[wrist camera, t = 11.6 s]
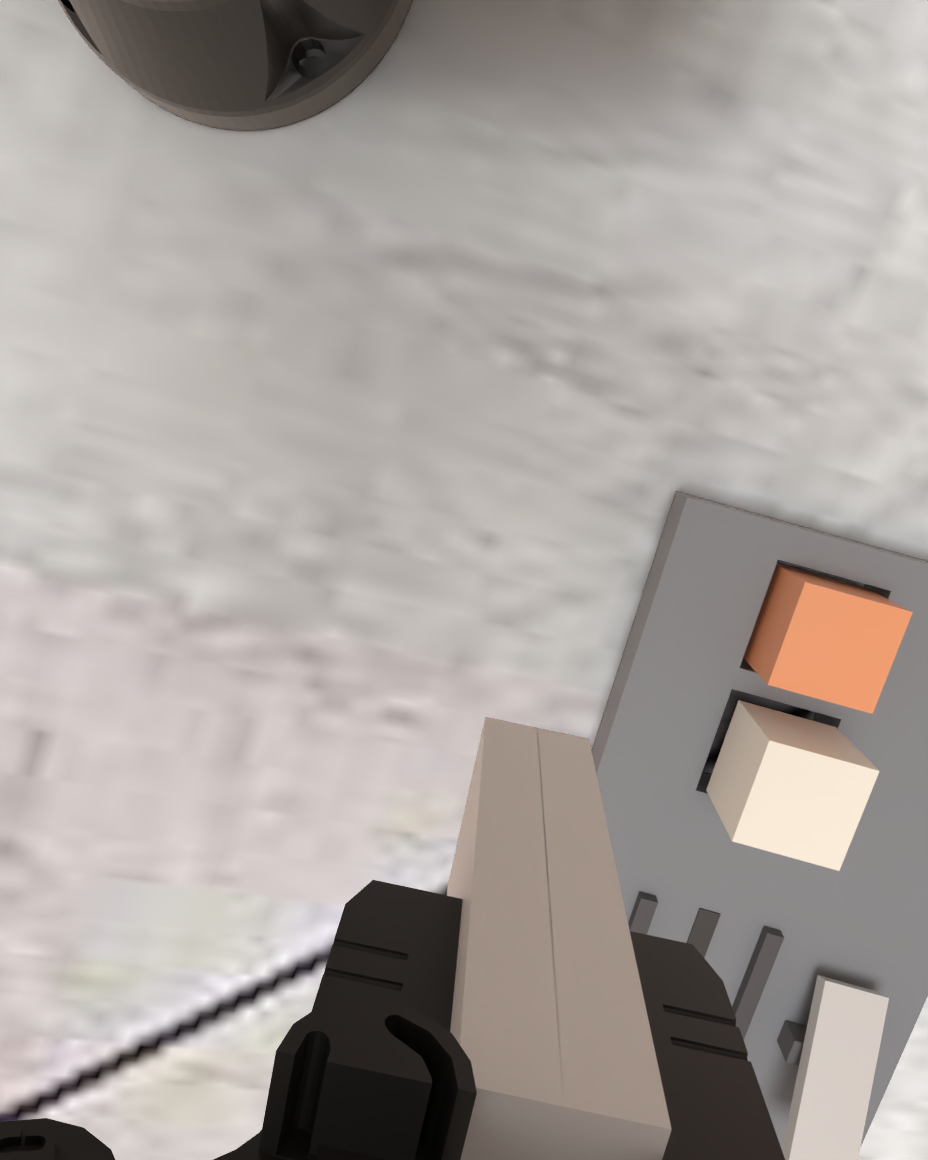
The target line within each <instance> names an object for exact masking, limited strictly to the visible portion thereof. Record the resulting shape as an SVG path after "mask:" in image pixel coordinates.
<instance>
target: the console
mask: <svg viewBox="0 0 928 1160" xmlns="http://www.w3.org/2000/svg"><path fill="white" fill-rule="evenodd" d="M778 560H781V561H785V562H789V563H792V564H796V565H799V566H803V567H806V568H810V569H814V570H817V571H821V572H824V573H828V574H832V575H835V576H839V577H842V578H846V579H850V580H853V581H857V582H860V583H864V584H866V585H865V587H866V588H868V589H870V590H872V591H874V592H875V593H877V594H879V595H881V596H883V597H885V598H887V599H889V600H891V601H893V602H895V603H897V604H898V605H900V606H902V607H904V608H906V609H908V610H910V611H912V612H913V613H912V616H911V618H910V621H909V623H908V626H907V628H906V631H905V633H904V636H903V638H902V641H901V643H900V646H899V648H898V651H897V653H896V656H895V659H894V661H893V664H892V666H891V669H890V671H889V674H888V676H887V679H886V681H885V684H884V686H883V689H882V691H881V694H880V696H879V699H878V701H877V704H876V707H875V709H874V712H873V714H871V713H867V712H864V711H860V710H856V709H853V708H849V707H846V706H842V705H838V704H835V703H831V702H828V701H824V700H820V699H817V698H813V697H810V696H806V695H802V694H799V693H795V692H792V691H788V690H784V689H781V688H777V687H774V686H770V685H767V684H766V682H765V681H764V680H763V679H762V678H761V677H760V676H759V675H758V674H757V673H756V671H755V670H754V669H753V668H752V667H751V666H750V665H749V664H748V663H747V662H746V660H745V659H744V658H743V656H744V654H745V651H746V648H747V645H748V642H749V640H750V637H751V634H752V631H753V628H754V626H755V623H756V620H757V617H758V614H759V612H760V609H761V606H762V603H763V600H764V598H765V595H766V592H767V589H768V586H769V584H770V581H771V578H772V575H773V572H774V570H775V567H776V564H777V561H778ZM732 689H734V690H737V691H741V692H745V693H748V694H752V695H755V696H759V697H763V698H766V699H770V700H773V701H777V702H781V703H784V704H788V705H791V706H795V707H799V708H802V709H806V710H809V711H813V712H817V713H816V716H815V718H814V721H816V722H819V723H823V724H826V725H830V726H834V727H836V728H837V729H838V730H839V731H840V732H841V733H842V734H843V735H844V736H845V737H846V738H847V739H848V740H849V741H850V742H851V743H852V744H853V745H854V746H855V747H856V748H857V749H858V750H859V751H860V752H861V753H862V754H863V755H864V756H865V757H866V758H867V759H868V760H869V761H870V762H871V763H872V764H873V765H874V766H875V767H876V768H877V769H878V770H879V774H878V776H877V779H876V781H875V784H874V786H873V789H872V791H871V794H870V796H869V799H868V801H867V804H866V806H865V809H864V811H863V814H862V816H861V819H860V821H859V823H858V826H857V828H856V831H855V833H854V836H853V838H852V841H851V843H850V846H849V848H848V851H847V853H846V856H845V858H844V861H843V863H842V866H841V868H840V871H837V870H834V869H830V868H827V867H823V866H819V865H816V864H812V863H808V862H805V861H801V860H798V859H794V858H790V857H787V856H783V855H780V854H776V853H772V852H769V851H765V850H762V849H758V848H754V847H751V846H747V845H743V844H740V843H736V842H733V841H732V840H731V838H730V836H729V834H728V832H727V830H726V829H725V827H724V825H723V823H722V821H721V819H720V817H719V815H718V813H717V811H716V809H715V807H714V805H713V803H712V801H711V799H710V797H709V795H708V793H707V791H706V789H707V787H708V784H709V781H710V778H711V775H709V774H706V773H702V771H703V769H704V766H705V763H706V760H707V757H708V755H709V752H710V749H711V746H712V743H713V741H714V738H715V735H716V732H717V729H718V727H719V724H720V721H721V718H722V715H723V713H724V710H725V707H726V704H727V701H728V699H729V696H730V693H731V690H732ZM592 756H593V760H594V765H595V770H596V774H597V779H598V784H599V789H600V793H601V798H602V803H603V808H604V812H605V817H606V822H607V826H608V831H609V836H610V841H611V845H612V850H613V855H614V860H615V864H616V869H617V874H618V878H619V883H620V888H621V893H622V897H623V902H624V907H625V912H626V916H627V921H628V926H629V930H630V931H632V932H637V933H642V934H646V935H651V936H656V937H660V938H665V939H670V940H675V941H679V942H684V943H689V944H693V945H694V946H695V948H696V949H697V950H698V951H699V953H700V954H701V955H702V956H703V957H704V959H705V960H706V961H707V962H708V963H709V965H710V966H711V967H712V968H713V969H714V971H715V972H716V973H717V974H718V976H719V977H720V978H721V979H722V980H723V983H724V985H725V988H726V991H727V994H728V997H729V1000H730V1003H731V1006H732V1008H733V1011H734V1014H735V1017H736V1027H739V1029H740V1031H741V1034H742V1037H743V1040H744V1043H745V1046H746V1049H747V1051H748V1056H747V1060H748V1061H750V1062H751V1063H752V1066H753V1069H754V1072H755V1074H756V1077H757V1080H758V1083H759V1086H760V1089H761V1092H762V1095H763V1097H764V1100H765V1103H766V1106H767V1109H768V1112H769V1115H770V1118H771V1120H772V1123H773V1126H774V1129H775V1132H776V1135H777V1138H778V1140H779V1143H780V1146H781V1149H782V1147H783V1142H784V1137H785V1132H786V1127H787V1122H788V1117H789V1112H790V1107H791V1102H792V1098H793V1093H794V1088H795V1083H796V1078H797V1073H798V1068H799V1063H800V1058H801V1054H802V1049H803V1044H804V1039H805V1034H806V1029H807V1024H808V1019H809V1014H810V1009H811V1005H812V1000H813V995H814V990H815V985H816V980H817V975H820V976H823V977H827V978H831V979H834V980H838V981H841V982H845V983H849V984H852V985H856V986H860V987H863V988H867V989H870V990H874V991H878V992H881V993H882V994H884V995H885V996H887V997H888V998H889V1001H888V1007H887V1012H886V1017H885V1022H884V1027H883V1033H882V1038H881V1043H880V1048H879V1053H878V1059H877V1064H876V1069H875V1074H874V1079H873V1085H872V1090H871V1095H870V1100H869V1105H868V1111H867V1116H866V1121H865V1126H864V1131H863V1137H862V1142H861V1145H862V1143H863V1140H864V1138H865V1136H866V1134H867V1131H868V1129H869V1127H870V1125H871V1122H872V1120H873V1118H874V1116H875V1113H876V1111H877V1109H878V1107H879V1104H880V1102H881V1100H882V1098H883V1095H884V1093H885V1091H886V1089H887V1086H888V1084H889V1082H890V1080H891V1077H892V1075H893V1073H894V1071H895V1068H896V1066H897V1064H898V1061H899V1059H900V1057H901V1055H902V1052H903V1050H904V1048H905V1046H906V1043H907V1041H908V1039H909V1037H910V1034H911V1032H912V1030H913V1028H914V1025H915V1023H916V1021H917V1019H918V1016H919V1014H920V1012H921V1010H922V1007H923V1005H924V1003H925V1001H926V998H927V996H928V561H925V560H921V559H918V558H914V557H910V556H907V555H903V554H900V553H896V552H892V551H889V550H885V549H882V548H878V547H875V546H871V545H867V544H864V543H860V542H857V541H853V540H849V539H846V538H842V537H839V536H835V535H831V534H828V533H824V532H821V531H817V530H814V529H810V528H806V527H803V526H799V525H796V524H792V523H788V522H785V521H781V520H778V519H774V518H770V517H767V516H763V515H760V514H756V513H753V512H749V511H745V510H742V509H738V508H735V507H731V506H727V505H724V504H720V503H717V502H713V501H710V500H706V499H702V498H699V497H695V496H692V495H688V494H684V493H681V492H677V491H676V493H675V496H674V499H673V503H672V506H671V509H670V512H669V515H668V518H667V521H666V524H665V527H664V530H663V533H662V536H661V539H660V542H659V546H658V549H657V552H656V555H655V558H654V561H653V564H652V567H651V570H650V573H649V576H648V579H647V582H646V586H645V589H644V592H643V595H642V598H641V601H640V604H639V607H638V610H637V613H636V616H635V619H634V622H633V625H632V629H631V632H630V635H629V638H628V641H627V644H626V647H625V650H624V653H623V656H622V659H621V662H620V665H619V668H618V672H617V675H616V678H615V681H614V684H613V687H612V690H611V693H610V696H609V699H608V702H607V705H606V708H605V712H604V715H603V718H602V721H601V724H600V727H599V730H598V733H597V736H596V739H595V742H594V745H593V748H592Z"/></svg>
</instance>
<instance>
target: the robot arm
mask: <svg viewBox="0 0 928 1160" xmlns="http://www.w3.org/2000/svg"><path fill="white" fill-rule="evenodd" d="M58 1H59V3H60V5H61V7H62V8H63V10H64V12H65V13H66V15H67V17H68V18H69V20H70V21H71V23H72V24H73V26H74V27H75V28H76V30H77V31H78V33H79V34H80V35H81V37H82V38H83V39H84V40H85V42H86V43H87V44H88V46H89V47H90V48H91V49H92V50H93V51H94V52H95V53H96V55H97V56H98V57H99V58H100V59H101V60H102V61H103V62H104V63H105V64H106V65H107V66H108V67H109V68H111V69H112V70H113V71H114V72H115V73H116V74H118V75H119V76H120V77H121V78H122V79H124V80H125V81H126V82H127V83H128V84H129V85H131V86H132V87H133V88H134V89H136V90H137V91H138V92H139V93H140V94H142V95H143V96H145V97H146V98H147V99H149V100H150V101H152V102H153V103H155V104H156V105H158V106H160V107H161V108H163V109H165V110H167V111H169V112H171V113H173V114H175V115H177V116H179V117H182V118H184V119H187V120H189V121H192V122H195V123H198V124H201V125H206V126H210V127H214V128H220V129H227V130H263V129H270V128H276V127H281V126H285V125H289V124H292V123H295V122H298V121H301V120H304V119H306V118H309V117H311V116H313V115H315V114H317V113H319V112H321V111H323V110H325V109H327V108H328V107H330V106H332V105H333V104H335V103H336V102H338V101H339V100H341V99H342V98H343V97H345V96H346V95H347V94H348V93H350V92H351V91H352V90H353V89H354V88H356V87H357V86H358V85H359V84H360V83H361V82H362V81H363V80H364V79H365V78H366V77H367V76H368V75H369V74H370V73H371V72H372V70H373V69H374V68H375V67H376V65H377V64H378V63H379V62H380V61H381V59H382V58H383V56H384V55H385V53H386V52H387V51H388V49H389V48H390V46H391V44H392V43H393V41H394V39H395V38H396V36H397V34H398V32H399V30H400V28H401V26H402V24H403V22H404V20H405V17H406V15H407V13H408V10H409V8H410V5H411V2H412V0H58ZM747 1056H748V1051H747V1049H746V1046H745V1043H744V1040H743V1037H742V1034H741V1031H740V1029H739V1027H736V1017H735V1014H734V1011H733V1008H732V1006H731V1003H730V1000H729V997H728V994H727V991H726V988H725V985H724V983H723V980H722V979H721V978H720V977H719V976H718V974H717V973H716V972H715V971H714V969H713V968H712V967H711V966H710V965H709V963H708V962H707V961H706V960H705V959H704V957H703V956H702V955H701V954H700V953H699V951H698V950H697V949H696V948H695V946H694V945H693V944H689V943H684V942H679V941H675V940H670V939H665V938H660V937H656V936H651V935H646V934H642V933H637V932H632V931H630V930H629V926H628V921H627V916H626V912H625V907H624V902H623V897H622V893H621V888H620V883H619V878H618V874H617V869H616V864H615V860H614V855H613V850H612V845H611V841H610V836H609V831H608V826H607V822H606V817H605V812H604V808H603V803H602V798H601V793H600V789H599V784H598V779H597V774H596V770H595V765H594V760H593V756H592V751H591V746H590V741H589V739H587V738H583V737H578V736H573V735H568V734H564V733H559V732H554V731H549V730H545V729H540V728H535V727H531V726H526V725H521V724H516V723H512V722H507V721H502V720H497V719H493V718H488V717H485V721H484V726H483V730H482V735H481V739H480V744H479V748H478V753H477V757H476V762H475V766H474V771H473V775H472V780H471V784H470V789H469V793H468V797H467V802H466V806H465V811H464V815H463V820H462V824H461V829H460V833H459V838H458V842H457V847H456V851H455V856H454V860H453V865H452V869H451V874H450V878H449V882H448V889H447V896H446V895H442V894H437V893H432V892H428V891H423V890H418V889H413V888H409V887H404V886H399V885H395V884H390V883H385V882H380V881H376V880H372V881H371V882H370V883H369V884H368V885H367V886H366V887H364V888H363V889H362V890H361V891H360V892H359V893H358V894H357V895H355V896H354V897H353V898H352V899H351V900H350V901H349V902H347V903H346V904H345V907H344V910H343V914H342V917H341V920H340V923H339V926H338V929H337V933H336V936H335V939H334V944H333V945H332V948H331V952H330V955H329V958H328V961H327V964H326V968H325V972H324V975H323V977H322V980H321V983H320V987H319V990H318V993H317V996H316V999H315V1002H314V1006H313V1009H312V1012H311V1013H309V1014H308V1015H306V1016H305V1017H303V1018H302V1019H300V1020H299V1021H297V1022H296V1023H294V1024H293V1025H292V1027H291V1029H290V1030H289V1032H288V1033H287V1035H286V1036H285V1038H284V1040H283V1041H282V1043H281V1044H280V1046H279V1047H278V1049H277V1051H276V1056H275V1061H274V1067H273V1072H272V1078H271V1083H270V1089H269V1095H268V1100H267V1106H266V1111H265V1117H264V1122H263V1128H262V1130H261V1131H260V1133H258V1134H257V1135H256V1136H254V1137H253V1138H252V1139H250V1140H249V1141H247V1142H246V1143H245V1144H243V1145H242V1146H240V1147H239V1148H238V1149H236V1150H234V1151H232V1152H230V1153H227V1154H225V1155H223V1156H220V1157H218V1158H216V1159H214V1160H785V1158H784V1155H783V1152H782V1149H781V1146H780V1143H779V1140H778V1138H777V1135H776V1132H775V1129H774V1126H773V1123H772V1120H771V1118H770V1115H769V1112H768V1109H767V1106H766V1103H765V1100H764V1097H763V1095H762V1092H761V1089H760V1086H759V1083H758V1080H757V1077H756V1074H755V1072H754V1069H753V1066H752V1063H751V1062H750V1061H748V1060H747ZM0 1160H115V1158H114V1156H113V1154H112V1151H111V1149H110V1148H108V1147H107V1146H106V1145H105V1144H103V1143H102V1142H101V1141H100V1140H98V1139H97V1138H96V1137H95V1136H93V1135H92V1134H91V1133H89V1132H88V1131H87V1130H86V1129H84V1128H82V1127H79V1126H75V1125H71V1124H67V1123H63V1122H59V1121H55V1120H51V1119H47V1118H44V1119H31V1120H19V1121H7V1122H1V1123H0Z"/></svg>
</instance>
